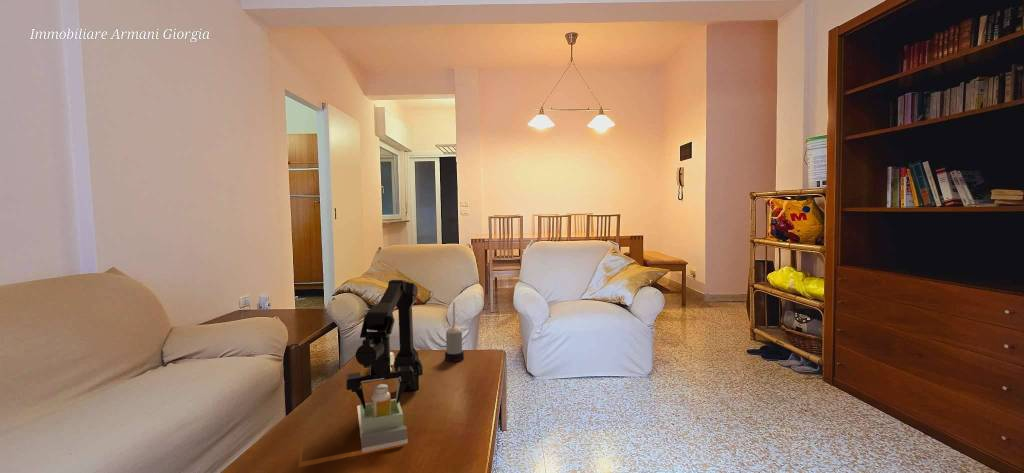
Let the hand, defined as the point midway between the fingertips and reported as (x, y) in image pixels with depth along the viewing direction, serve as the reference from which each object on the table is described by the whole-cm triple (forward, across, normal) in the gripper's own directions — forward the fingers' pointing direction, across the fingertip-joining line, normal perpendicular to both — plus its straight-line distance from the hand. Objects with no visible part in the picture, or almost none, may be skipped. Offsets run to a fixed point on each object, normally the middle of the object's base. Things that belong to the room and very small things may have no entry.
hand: (381, 405), depth 128 cm
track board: (+8, 0, -4) cm, 9 cm away
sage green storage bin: (+7, 0, 0) cm, 7 cm away
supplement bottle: (+4, 0, 0) cm, 4 cm away
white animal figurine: (+8, -5, -52) cm, 52 cm away
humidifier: (+8, -35, -52) cm, 64 cm away
